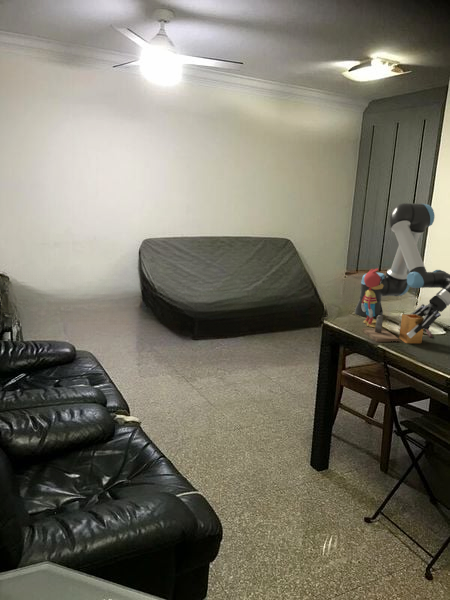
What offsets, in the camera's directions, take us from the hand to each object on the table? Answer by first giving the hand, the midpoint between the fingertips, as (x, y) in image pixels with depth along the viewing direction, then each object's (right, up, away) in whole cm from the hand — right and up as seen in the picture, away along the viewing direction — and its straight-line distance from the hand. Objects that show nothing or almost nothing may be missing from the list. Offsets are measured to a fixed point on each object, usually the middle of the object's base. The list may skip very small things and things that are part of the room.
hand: (404, 333), depth 228 cm
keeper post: (-10, -2, +6) cm, 11 cm away
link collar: (+3, -4, +1) cm, 5 cm away
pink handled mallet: (+15, -1, +17) cm, 23 cm away
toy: (-9, +3, +25) cm, 27 cm away
